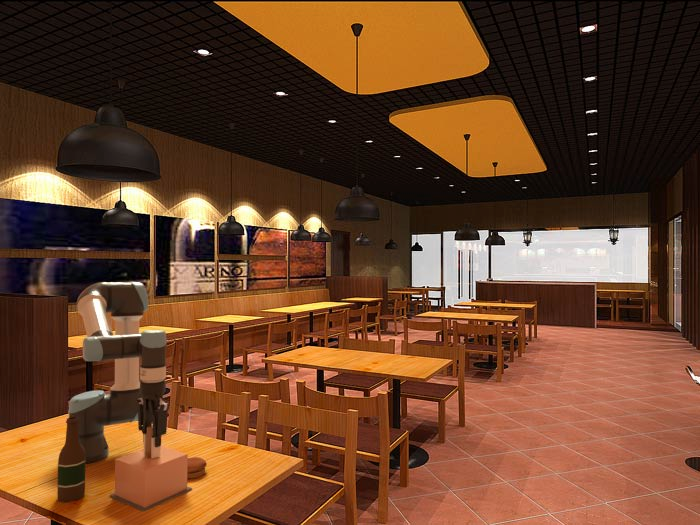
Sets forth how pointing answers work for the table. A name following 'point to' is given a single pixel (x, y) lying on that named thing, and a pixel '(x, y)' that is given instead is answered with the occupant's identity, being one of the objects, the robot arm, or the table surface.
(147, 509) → the mat
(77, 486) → the beer bottle
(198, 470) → the burger
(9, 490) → the table surface
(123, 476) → the pink box with peg
